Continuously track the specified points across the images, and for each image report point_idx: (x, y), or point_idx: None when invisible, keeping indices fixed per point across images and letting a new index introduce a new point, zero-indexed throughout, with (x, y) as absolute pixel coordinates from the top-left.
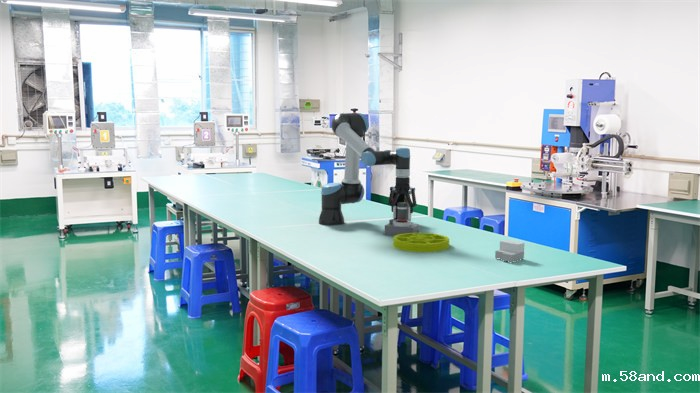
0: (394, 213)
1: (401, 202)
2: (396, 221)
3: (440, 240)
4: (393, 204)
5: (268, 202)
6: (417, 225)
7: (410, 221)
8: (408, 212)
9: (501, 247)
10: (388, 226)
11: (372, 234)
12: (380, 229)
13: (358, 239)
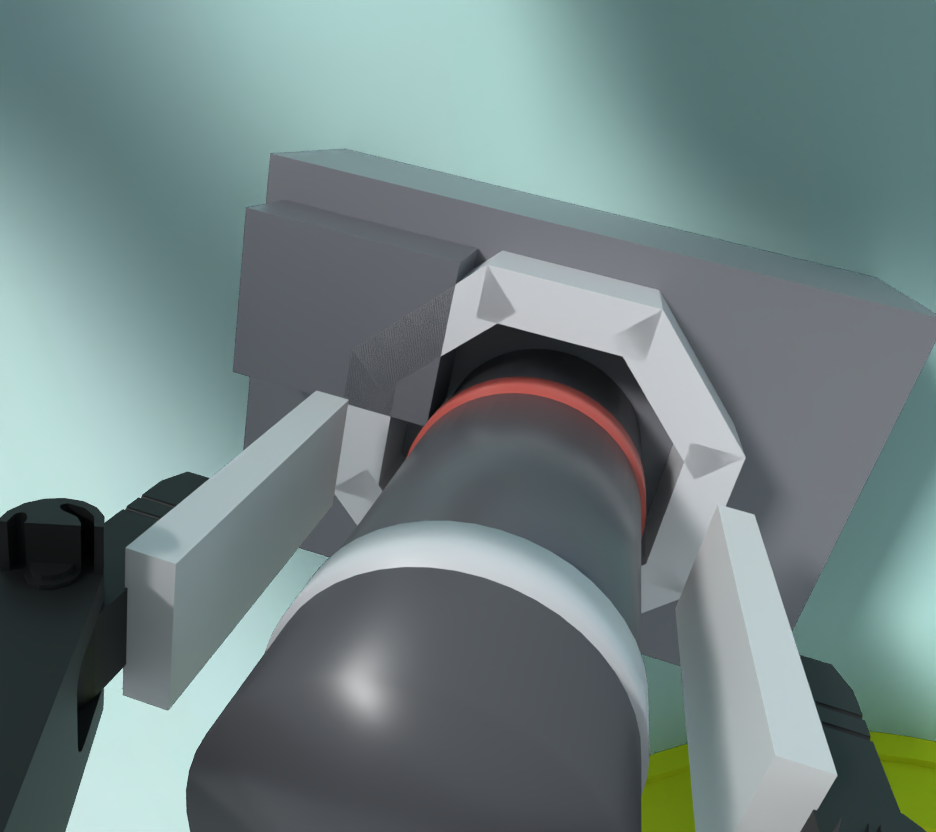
0: (282, 558)
1: (324, 708)
2: (396, 412)
3: None
4: (81, 749)
5: None
6: (882, 445)
7: (724, 466)
8: (688, 743)
9: None
10: (308, 545)
11: (149, 456)
12: (132, 33)
13: (103, 718)
